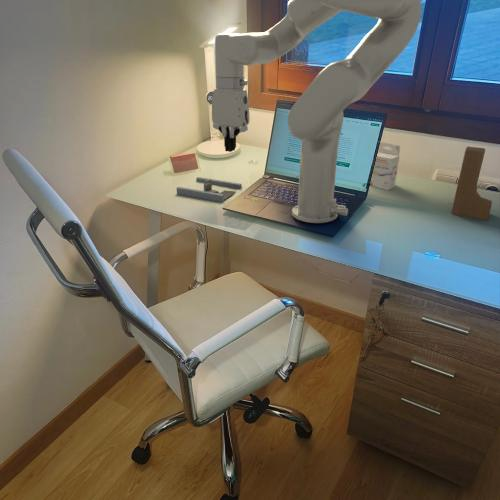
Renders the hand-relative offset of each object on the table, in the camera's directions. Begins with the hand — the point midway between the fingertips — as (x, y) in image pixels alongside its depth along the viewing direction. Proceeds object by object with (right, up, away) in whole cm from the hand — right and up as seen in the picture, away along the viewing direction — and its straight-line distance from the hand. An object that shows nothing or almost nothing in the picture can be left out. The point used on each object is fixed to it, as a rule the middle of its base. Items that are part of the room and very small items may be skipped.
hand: (230, 150), depth 128 cm
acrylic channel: (-7, -11, +9) cm, 16 cm away
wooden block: (+66, -20, -8) cm, 69 cm away
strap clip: (-7, -11, +10) cm, 17 cm away
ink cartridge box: (+46, -11, +10) cm, 48 cm away
